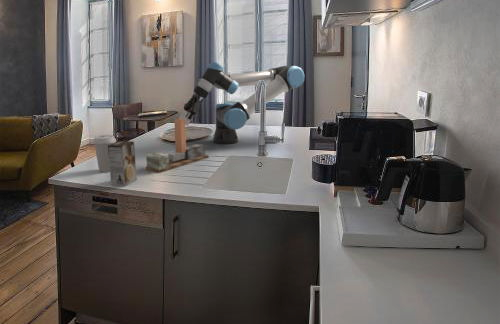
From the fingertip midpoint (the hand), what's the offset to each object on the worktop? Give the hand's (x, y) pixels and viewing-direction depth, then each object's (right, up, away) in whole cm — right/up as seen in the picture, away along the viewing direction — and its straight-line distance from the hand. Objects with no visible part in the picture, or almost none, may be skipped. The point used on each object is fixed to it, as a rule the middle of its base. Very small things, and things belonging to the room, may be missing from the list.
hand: (182, 122), depth 201 cm
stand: (+2, -22, -22) cm, 31 cm away
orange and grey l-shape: (+5, -19, -19) cm, 27 cm away
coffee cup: (-27, -25, -35) cm, 51 cm away
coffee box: (-14, -29, -51) cm, 61 cm away
